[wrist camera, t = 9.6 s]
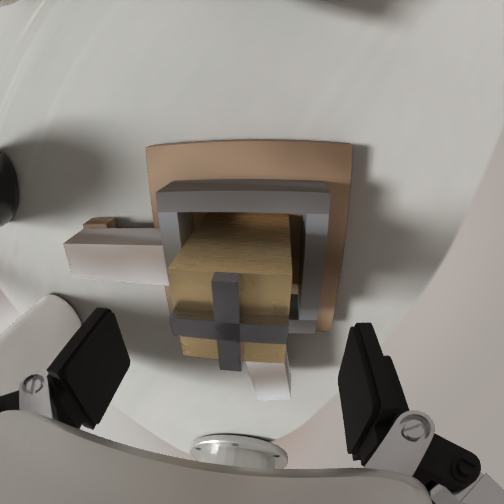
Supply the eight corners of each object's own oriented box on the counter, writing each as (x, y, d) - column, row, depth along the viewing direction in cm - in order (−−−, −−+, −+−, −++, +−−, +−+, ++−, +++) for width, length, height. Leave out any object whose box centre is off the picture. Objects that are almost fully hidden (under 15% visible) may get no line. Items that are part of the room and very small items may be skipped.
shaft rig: (319, 366, 22) (322, 402, 19) (130, 351, 24) (114, 380, 20) (347, 143, 15) (366, 150, 11) (82, 155, 16) (46, 166, 13)
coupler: (284, 284, 18) (283, 373, 11) (212, 280, 18) (180, 364, 12) (288, 214, 16) (292, 284, 9) (207, 211, 16) (161, 277, 10)
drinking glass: (61, 276, 21) (-49, 400, 7) (103, 337, 23) (25, 470, 10) (28, 293, 22) (-60, 393, 9) (65, 345, 25) (-4, 451, 12)
